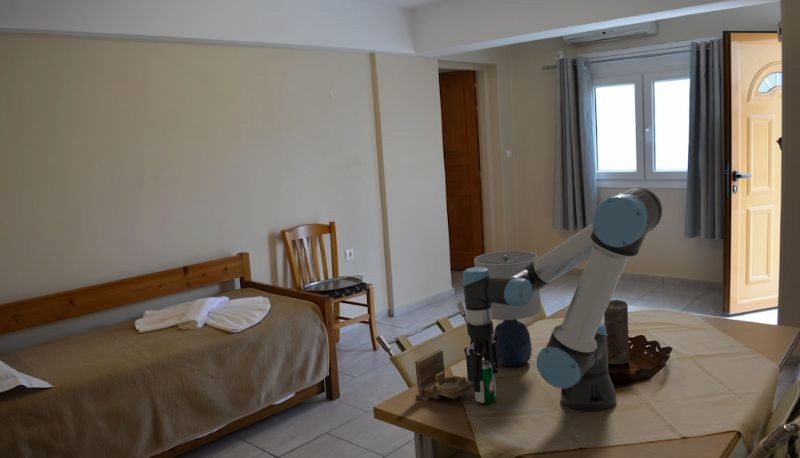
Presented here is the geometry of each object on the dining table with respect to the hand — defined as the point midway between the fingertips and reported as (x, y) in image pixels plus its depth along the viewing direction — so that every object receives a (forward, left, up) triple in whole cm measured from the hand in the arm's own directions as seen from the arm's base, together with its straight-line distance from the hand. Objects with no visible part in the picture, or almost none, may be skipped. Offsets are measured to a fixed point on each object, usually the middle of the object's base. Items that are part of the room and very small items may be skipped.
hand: (486, 397), depth 189 cm
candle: (-19, -45, -1) cm, 49 cm away
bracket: (+12, +4, -1) cm, 13 cm away
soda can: (0, 0, -1) cm, 1 cm away
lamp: (+10, -29, -1) cm, 31 cm away
